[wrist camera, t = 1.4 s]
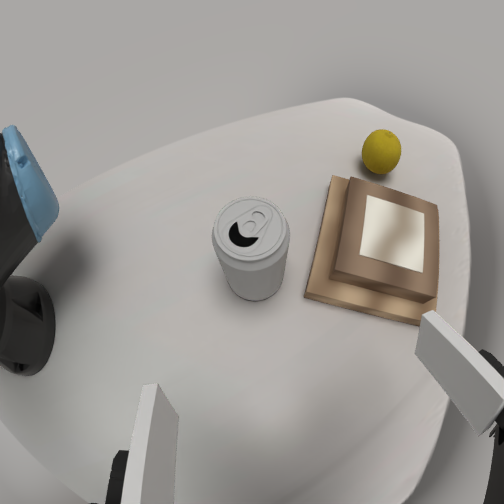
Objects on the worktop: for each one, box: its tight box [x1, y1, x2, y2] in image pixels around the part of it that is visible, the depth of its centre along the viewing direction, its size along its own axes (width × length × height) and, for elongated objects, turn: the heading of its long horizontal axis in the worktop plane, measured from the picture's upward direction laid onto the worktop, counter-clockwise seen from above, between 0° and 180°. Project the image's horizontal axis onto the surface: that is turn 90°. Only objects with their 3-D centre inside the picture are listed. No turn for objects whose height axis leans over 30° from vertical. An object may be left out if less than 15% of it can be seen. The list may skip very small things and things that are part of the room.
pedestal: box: [304, 175, 439, 326], centre depth 30 cm, size 16×16×6 cm
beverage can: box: [212, 197, 290, 301], centre depth 27 cm, size 6×6×12 cm
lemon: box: [362, 130, 401, 174], centre depth 34 cm, size 6×6×8 cm
